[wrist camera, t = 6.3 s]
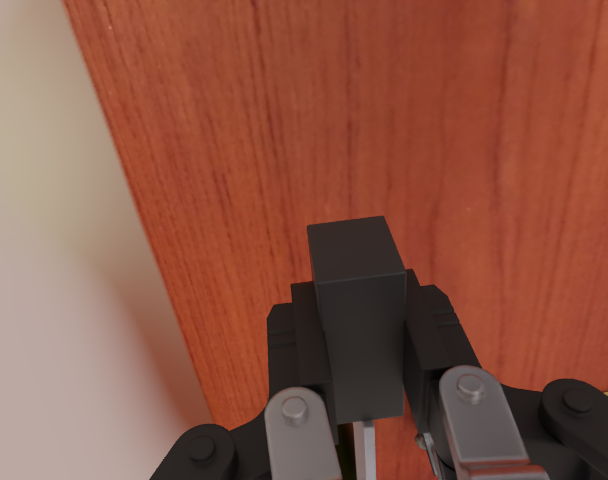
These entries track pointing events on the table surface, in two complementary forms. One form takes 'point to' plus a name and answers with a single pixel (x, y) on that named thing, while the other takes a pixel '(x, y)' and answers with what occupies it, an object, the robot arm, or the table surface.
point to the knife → (361, 324)
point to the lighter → (427, 447)
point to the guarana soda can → (346, 451)
